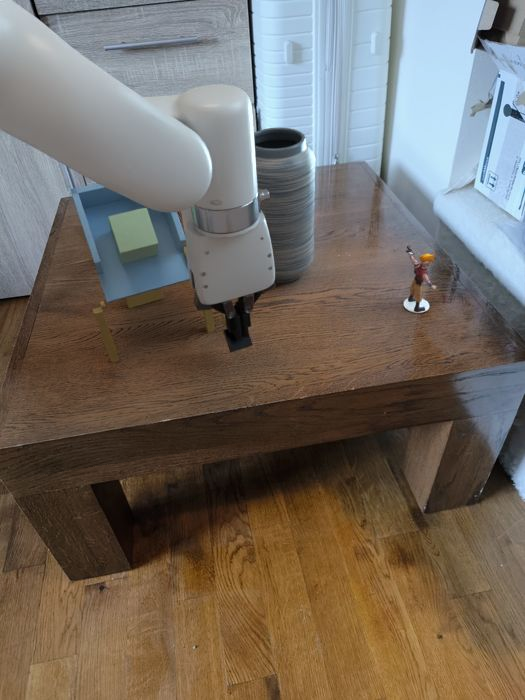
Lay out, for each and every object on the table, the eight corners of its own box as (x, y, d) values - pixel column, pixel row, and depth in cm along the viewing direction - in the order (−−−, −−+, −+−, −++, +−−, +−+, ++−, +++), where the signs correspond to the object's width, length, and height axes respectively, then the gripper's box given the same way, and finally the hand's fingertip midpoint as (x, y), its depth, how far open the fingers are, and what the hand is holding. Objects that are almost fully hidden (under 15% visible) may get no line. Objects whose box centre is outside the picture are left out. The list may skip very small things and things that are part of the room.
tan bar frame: (111, 363, 75) (91, 307, 68) (96, 311, 85) (77, 257, 77) (215, 331, 79) (206, 274, 72) (190, 285, 89) (180, 231, 81)
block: (121, 264, 70) (120, 253, 65) (110, 230, 70) (108, 216, 65) (157, 255, 71) (158, 243, 66) (146, 221, 71) (146, 207, 66)
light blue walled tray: (134, 384, 69) (133, 381, 63) (75, 207, 70) (69, 188, 65) (249, 346, 73) (258, 341, 68) (192, 180, 74) (196, 160, 69)
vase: (326, 264, 91) (331, 133, 75) (286, 297, 85) (283, 161, 69) (275, 244, 97) (269, 118, 81) (234, 273, 90) (220, 143, 75)
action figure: (390, 281, 86) (398, 232, 80) (407, 279, 87) (415, 229, 80) (417, 326, 78) (428, 275, 71) (436, 324, 78) (448, 272, 71)
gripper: (273, 181, 62) (278, 302, 74) (152, 210, 58) (179, 332, 71) (300, 208, 57) (301, 332, 69) (169, 242, 53) (195, 367, 65)
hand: (239, 332), depth 70 cm, fingers closed
